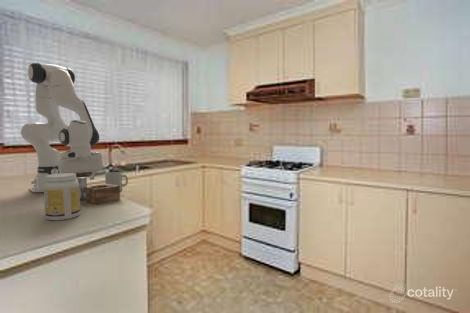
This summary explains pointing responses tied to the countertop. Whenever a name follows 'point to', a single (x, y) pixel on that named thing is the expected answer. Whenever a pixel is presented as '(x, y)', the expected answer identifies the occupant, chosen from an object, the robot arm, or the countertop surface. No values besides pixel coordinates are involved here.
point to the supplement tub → (61, 196)
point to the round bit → (82, 187)
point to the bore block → (102, 193)
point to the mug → (115, 179)
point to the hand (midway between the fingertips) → (82, 180)
